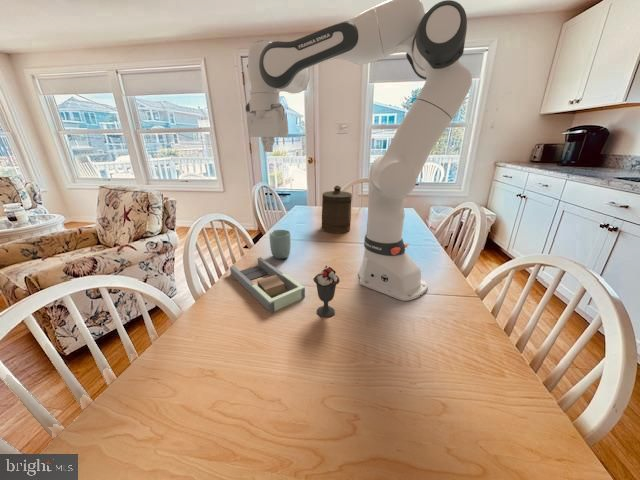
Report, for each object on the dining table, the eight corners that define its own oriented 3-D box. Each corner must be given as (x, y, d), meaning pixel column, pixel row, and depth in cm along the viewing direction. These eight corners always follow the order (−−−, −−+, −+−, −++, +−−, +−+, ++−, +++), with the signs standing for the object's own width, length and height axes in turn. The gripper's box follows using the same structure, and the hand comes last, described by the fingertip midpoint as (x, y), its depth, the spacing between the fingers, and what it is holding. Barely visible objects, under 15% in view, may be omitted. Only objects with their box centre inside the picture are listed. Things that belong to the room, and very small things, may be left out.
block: (284, 294, 76) (284, 283, 75) (266, 301, 73) (265, 289, 72) (276, 285, 81) (275, 274, 80) (258, 291, 78) (257, 280, 76)
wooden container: (352, 225, 137) (354, 184, 129) (347, 234, 124) (349, 189, 116) (325, 223, 141) (326, 182, 132) (318, 231, 127) (318, 187, 119)
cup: (287, 262, 96) (286, 237, 92) (268, 260, 98) (266, 235, 94) (293, 253, 103) (292, 230, 100) (275, 251, 105) (273, 228, 101)
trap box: (304, 297, 75) (304, 287, 74) (270, 313, 68) (269, 302, 67) (261, 264, 94) (260, 256, 93) (231, 274, 87) (229, 265, 86)
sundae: (320, 323, 65) (321, 270, 59) (309, 308, 70) (308, 259, 65) (342, 315, 67) (345, 265, 62) (330, 301, 73) (331, 254, 67)
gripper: (292, 103, 75) (293, 153, 80) (259, 108, 89) (262, 150, 94) (273, 101, 71) (276, 153, 76) (242, 107, 85) (246, 150, 91)
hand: (268, 152), depth 85 cm, fingers closed
